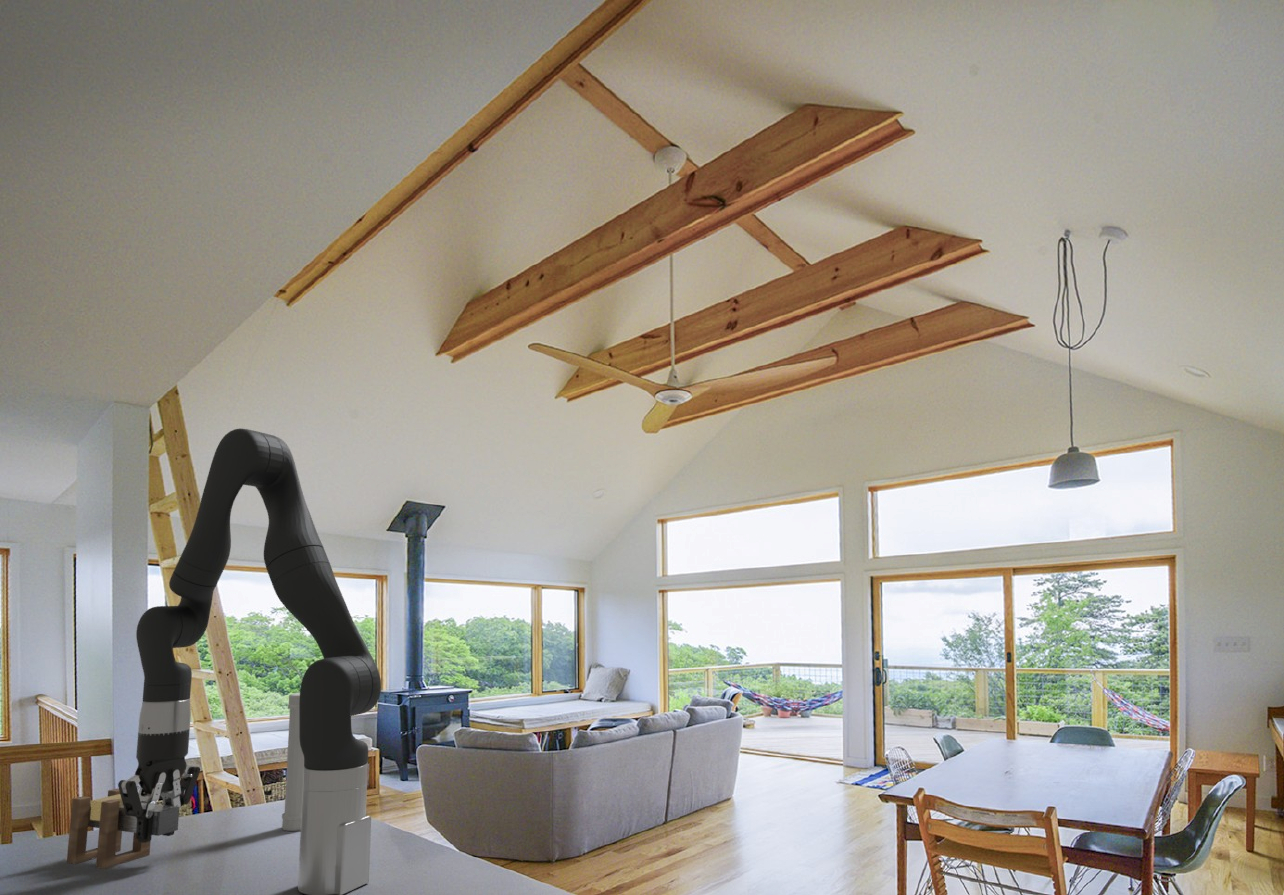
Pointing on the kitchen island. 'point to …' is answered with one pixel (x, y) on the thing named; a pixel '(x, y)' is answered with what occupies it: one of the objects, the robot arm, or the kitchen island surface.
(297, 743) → the pipe
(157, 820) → the shaft
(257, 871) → the kitchen island surface
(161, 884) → the kitchen island surface
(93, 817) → the spacer
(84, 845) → the brown wooden frame
